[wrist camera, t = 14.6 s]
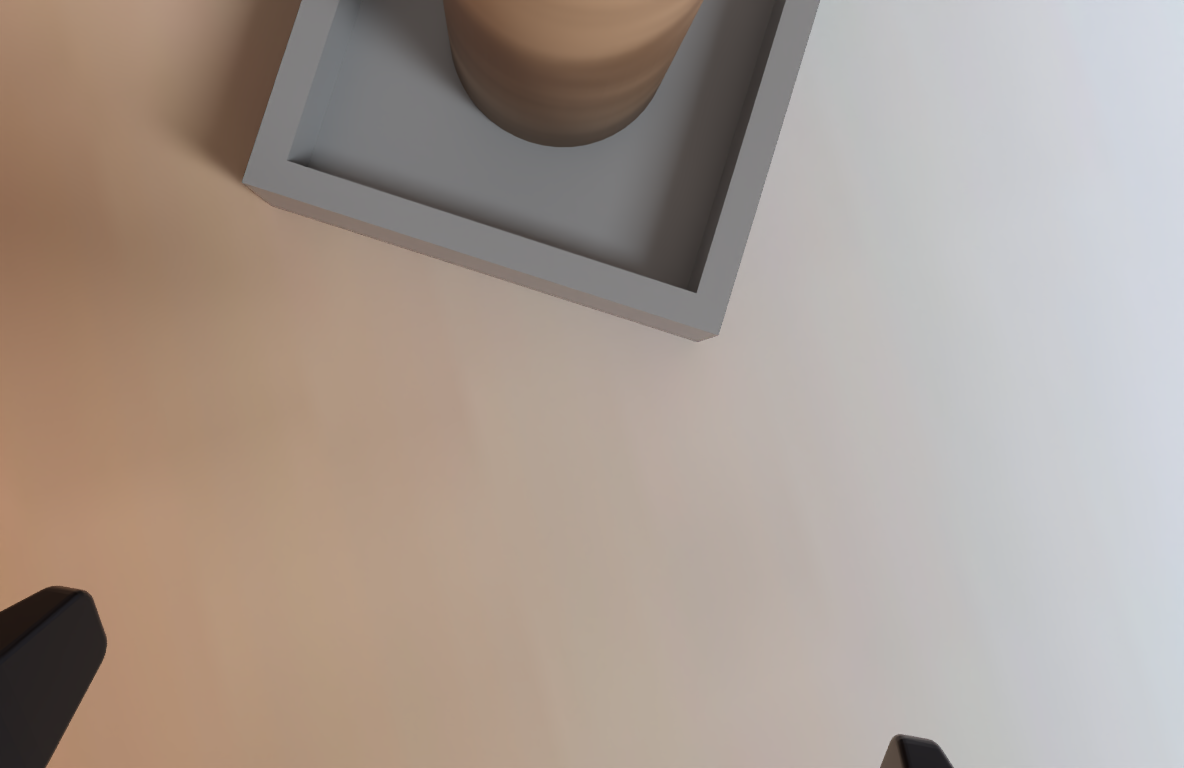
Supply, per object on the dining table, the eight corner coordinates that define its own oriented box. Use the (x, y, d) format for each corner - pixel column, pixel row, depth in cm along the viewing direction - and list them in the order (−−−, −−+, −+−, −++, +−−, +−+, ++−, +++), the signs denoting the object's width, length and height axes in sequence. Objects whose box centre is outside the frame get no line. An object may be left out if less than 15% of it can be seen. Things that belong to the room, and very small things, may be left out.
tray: (697, 341, 23) (718, 335, 21) (271, 205, 22) (241, 182, 20) (831, -98, 24) (866, -154, 21) (420, -249, 23) (408, -325, 20)
